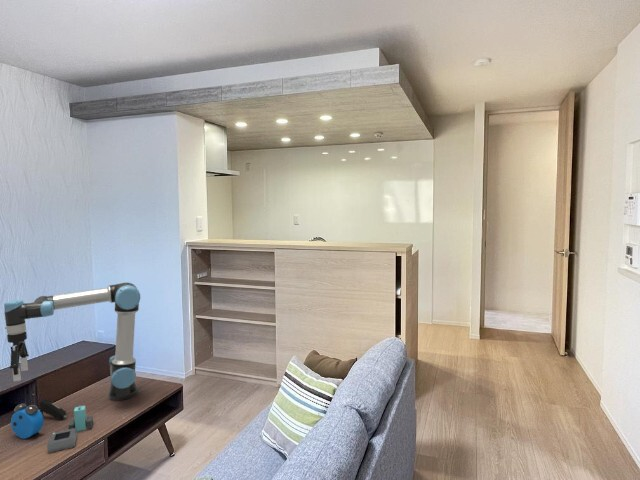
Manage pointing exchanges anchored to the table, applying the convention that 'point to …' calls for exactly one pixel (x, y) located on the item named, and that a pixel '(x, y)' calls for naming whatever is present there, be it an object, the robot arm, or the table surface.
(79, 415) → the plug
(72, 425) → the grey u-shaped bracket
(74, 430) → the port panel
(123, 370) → the robot arm
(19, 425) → the alarm clock
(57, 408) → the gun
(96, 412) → the table surface
